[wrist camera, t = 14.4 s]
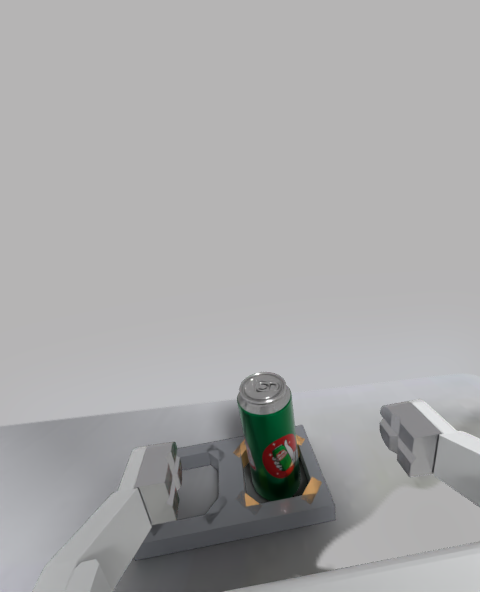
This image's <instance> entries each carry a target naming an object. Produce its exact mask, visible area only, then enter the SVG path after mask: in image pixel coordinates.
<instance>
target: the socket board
mask: <svg viewBox="0 0 480 592" xmlns="http://www.w3.org/2000/svg"><path fill="white" fill-rule="evenodd" d="M295 431H296V440H297V449H298V457H300V459H301V462H302V465H303V468H304V471H305V474H306V477H307V480H308V483H309V484H308V485H307V487H306V489H305V491H304V493H303V495H301V496H296V497H291V498H286V499H281V500H276V501H271V502H266V503H261V504H259V503H258V502H257V501H255V500H254V499H253V498H251V497H250V496H249V495H247V494H246V486H245V477H244V468H245V466H246V465H247V464H248V463H249V460H248V455H247V450H246V445H245V439H244V436H241V437H236V438H230V439H225V440H220V441H214V442H209V443H204V444H199V445H193V446H188V447H183V448H178V449H177V456H178V457H180V460H181V466H182V470H186V469H192V468H197V467H202V466H207V465H212V466H213V467H215V468H216V469H217V470H219V498H218V499H217V500H216V501H215V503H214V504H213V505H212V506H211V508H210V509H209V510H208V511H207V513H206V514H205V515H201V516H196V517H191V518H186V519H181V520H176V521H171V522H166V523H161V524H156V525H151V526H152V528H151V529H150V531H149V533H148V534H147V536H146V538H145V539H144V541H143V543H142V544H141V546H140V547H139V549H138V551H137V552H136V554H135V556H134V558H135V561H136V560H141V559H146V558H151V557H156V556H160V555H165V554H170V553H175V552H180V551H185V550H190V549H195V548H200V547H205V546H210V545H215V544H220V543H225V542H230V541H234V540H239V539H244V538H249V537H254V536H259V535H264V534H269V533H274V532H279V531H284V530H289V529H294V528H299V527H304V526H308V525H313V524H318V523H323V522H328V521H333V520H336V517H335V504H334V501H333V499H332V496H331V494H330V492H329V489H328V487H327V484H326V482H325V479H324V477H323V474H322V472H321V469H320V467H319V464H318V462H317V459H316V457H315V454H314V452H313V449H312V447H311V445H310V442H309V440H308V437H307V435H306V432H305V430H304V427H303V425H299V426H295Z"/></svg>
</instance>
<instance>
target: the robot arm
mask: <svg viewBox="0 0 480 592" xmlns="http://www.w3.org/2000/svg"><path fill="white" fill-rule="evenodd" d="M380 414H381V415H382V417H383V419H382V421H381V422H380V433H381V436H382V439H383V441H384V443H385V444H386V446H387V447H388V448H389V450H391V451H393V452H395V453H396V454H397V461H398V462H399V464H400V465H401V466H402V468H403V469H404V470H405V472H406V473H407V474H408V476H409V477H416V476H423V475H429V474H433V475H434V476H435V477H436V478H438V479H439V480H441V481H442V482H444V483H445V484H447V485H448V486H449V487H451V488H453V489H454V490H455V491H457V492H459V493H460V494H461V495H463V496H464V497H465V498H467V499H468V500H470V501H471V502H473V503H474V504H476V505H477V506H479V507H480V439H479V438H477V437H475V436H472V435H470V434H468V433H466V432H463V431H457V430H456V429H454V428H453V427H452V426H451V425H450V424H449V423H448V422H447V421H446V420H444V419H443V418H442V417H441V416H440V415H439V414H438V413H437V412H436V411H434V410H433V409H432V408H431V407H430V406H429V405H428V404H427V403H426V402H425V401H423V400H421V399H417V400H412V401H407V402H401V403H395V404H390V405H384V406H382V407H381V411H380ZM181 482H182V466H181V460H180V457H178V456H177V446H176V443H175V442H169V443H162V444H155V445H148V446H143V447H136V448H134V449H133V451H132V452H131V455H130V458H129V461H128V463H127V466H126V469H125V472H124V474H123V477H122V480H121V483H120V486H119V488H118V491H117V492H113V493H112V494H111V495H110V496H109V497H108V499H107V500H106V501H105V502H104V503H103V504H102V505H101V506H100V507H99V508H98V509H97V510H96V511H95V513H94V514H93V515H92V516H91V517H90V518H89V519H88V520H87V521H86V522H85V523H84V524H83V526H82V527H81V528H80V529H79V530H78V531H77V532H76V533H75V534H74V535H73V536H72V537H71V539H70V540H69V541H68V542H67V543H66V544H65V545H64V546H63V547H62V548H61V549H60V550H59V552H58V553H57V554H56V555H55V556H54V557H53V558H52V559H51V560H50V561H49V562H48V563H47V565H46V566H45V567H44V568H43V570H42V572H41V574H40V576H39V578H38V581H37V583H36V585H35V587H34V589H33V591H32V592H113V590H114V589H115V587H116V585H117V584H118V582H119V580H120V579H121V577H122V575H123V574H124V572H125V571H126V569H127V567H128V566H129V564H130V562H131V561H132V559H133V557H134V556H135V554H136V552H137V551H138V549H139V547H140V546H141V544H142V543H143V541H144V539H145V538H146V536H147V534H148V533H149V531H150V529H151V528H152V526H151V525H156V524H161V523H165V522H170V521H175V520H176V519H177V512H178V505H179V497H178V493H177V491H178V490H179V488H180V487H181ZM223 592H480V541H479V542H474V543H470V544H464V545H459V546H454V547H449V548H443V549H438V550H433V551H428V552H423V553H418V554H413V555H407V556H403V557H397V558H393V559H387V560H382V561H377V562H371V563H367V564H361V565H356V566H351V567H346V568H341V569H336V570H330V571H325V572H320V573H315V574H310V575H305V576H300V577H295V578H290V579H285V580H279V581H274V582H269V583H264V584H259V585H254V586H249V587H244V588H239V589H233V590H228V591H223Z"/></svg>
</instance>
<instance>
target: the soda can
mask: <svg viewBox="0 0 480 592" xmlns="http://www.w3.org/2000/svg"><path fill="white" fill-rule="evenodd" d="M237 403H238V408H239V413H240V418H241V424H242V429H243V434H244V439H245V445H246V450H247V455H248V460H249V465H250V471H251V476H252V481H253V485H254V488H255V489H256V491H257V492H258V494H259V495H260V496H262V497H263V498H265V499H267V500H269V501H276V500H281V499H286V498H291V497H292V496H293V495H294V494H295V493H296V492H297V490H298V488H299V486H300V480H301V476H300V467H299V458H298V449H297V440H296V431H295V422H294V413H293V404H292V395H291V391H290V389H289V387H288V386H287V385H286V382H285V380H284V379H283V378H282V377H281V376H279V375H277V374H275V373H271V372H260V373H256V374H252V375H250V376H249V377H247V378H246V379H244V380H243V381H242V383H241V385H240V388H239V394H238V396H237Z"/></svg>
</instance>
